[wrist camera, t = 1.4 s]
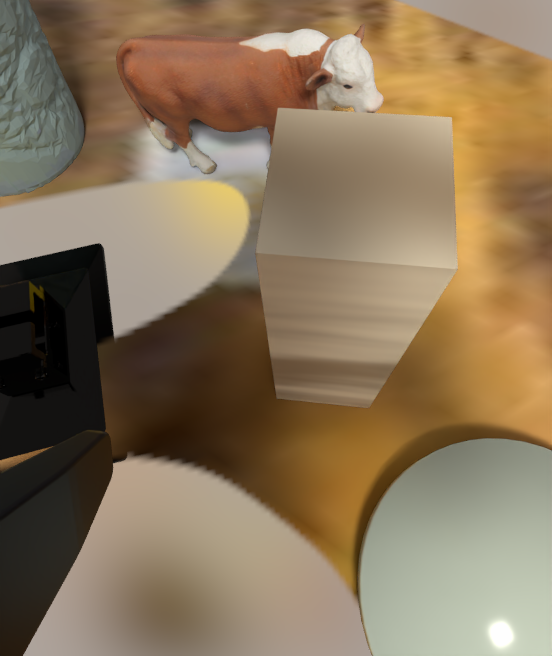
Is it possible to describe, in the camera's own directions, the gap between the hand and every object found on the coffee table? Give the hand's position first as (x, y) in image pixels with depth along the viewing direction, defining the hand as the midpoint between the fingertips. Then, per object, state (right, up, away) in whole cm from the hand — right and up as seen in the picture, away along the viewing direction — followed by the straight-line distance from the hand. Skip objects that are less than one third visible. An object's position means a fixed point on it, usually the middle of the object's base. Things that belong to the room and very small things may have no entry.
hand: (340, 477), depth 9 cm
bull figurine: (-2, +13, +20) cm, 24 cm away
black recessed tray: (-13, +1, +16) cm, 20 cm away
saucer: (+8, -8, +10) cm, 15 cm away
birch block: (+1, +1, +14) cm, 14 cm away
